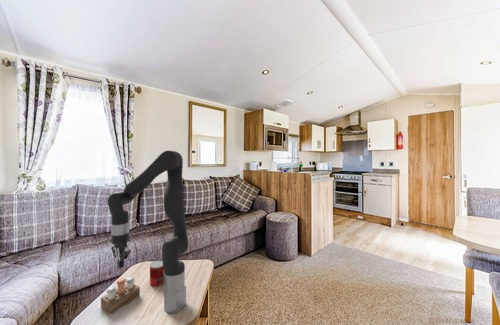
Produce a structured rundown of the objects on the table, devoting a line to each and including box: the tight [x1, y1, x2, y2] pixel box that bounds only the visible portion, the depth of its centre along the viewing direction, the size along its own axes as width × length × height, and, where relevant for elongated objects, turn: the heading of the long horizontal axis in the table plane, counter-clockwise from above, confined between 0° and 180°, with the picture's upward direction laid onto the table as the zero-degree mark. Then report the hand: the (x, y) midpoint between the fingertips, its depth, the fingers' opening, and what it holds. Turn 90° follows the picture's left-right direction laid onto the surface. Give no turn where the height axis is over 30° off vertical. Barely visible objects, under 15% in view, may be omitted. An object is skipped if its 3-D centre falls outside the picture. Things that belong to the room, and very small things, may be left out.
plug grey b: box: [125, 276, 135, 290], centre depth 104 cm, size 4×4×9 cm
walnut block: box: [100, 283, 141, 315], centre depth 101 cm, size 8×14×5 cm, turn 152°
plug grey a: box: [106, 285, 117, 301], centre depth 97 cm, size 4×4×9 cm
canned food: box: [149, 260, 164, 288], centre depth 116 cm, size 8×8×11 cm
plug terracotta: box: [116, 277, 127, 295], centre depth 100 cm, size 4×4×9 cm
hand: (120, 267), depth 100 cm, fingers closed
